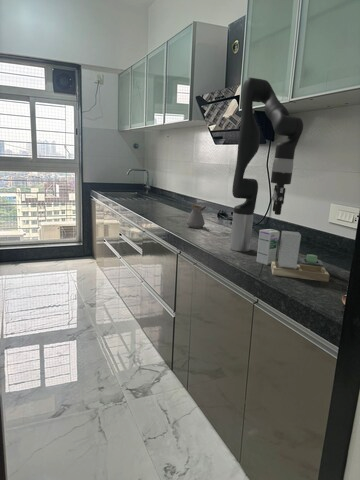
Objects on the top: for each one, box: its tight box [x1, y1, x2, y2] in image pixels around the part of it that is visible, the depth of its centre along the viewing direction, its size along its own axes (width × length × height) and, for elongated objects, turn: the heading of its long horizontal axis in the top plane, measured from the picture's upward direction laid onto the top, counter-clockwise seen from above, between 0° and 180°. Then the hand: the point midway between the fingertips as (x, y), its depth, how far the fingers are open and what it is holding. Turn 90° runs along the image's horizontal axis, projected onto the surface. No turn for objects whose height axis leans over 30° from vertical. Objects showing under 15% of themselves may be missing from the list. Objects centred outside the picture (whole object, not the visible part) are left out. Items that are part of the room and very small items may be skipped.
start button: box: [305, 253, 318, 263], centre depth 139 cm, size 4×4×4 cm
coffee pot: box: [185, 205, 208, 229], centre depth 212 cm, size 21×12×15 cm, turn 16°
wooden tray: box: [270, 261, 330, 282], centre depth 129 cm, size 10×19×4 cm, turn 79°
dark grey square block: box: [297, 256, 325, 268], centre depth 139 cm, size 8×8×4 cm
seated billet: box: [277, 230, 302, 270], centre depth 129 cm, size 6×6×15 cm
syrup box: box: [255, 228, 281, 266], centre depth 142 cm, size 6×6×14 cm
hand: (276, 212), depth 139 cm, fingers open, 8 cm apart
